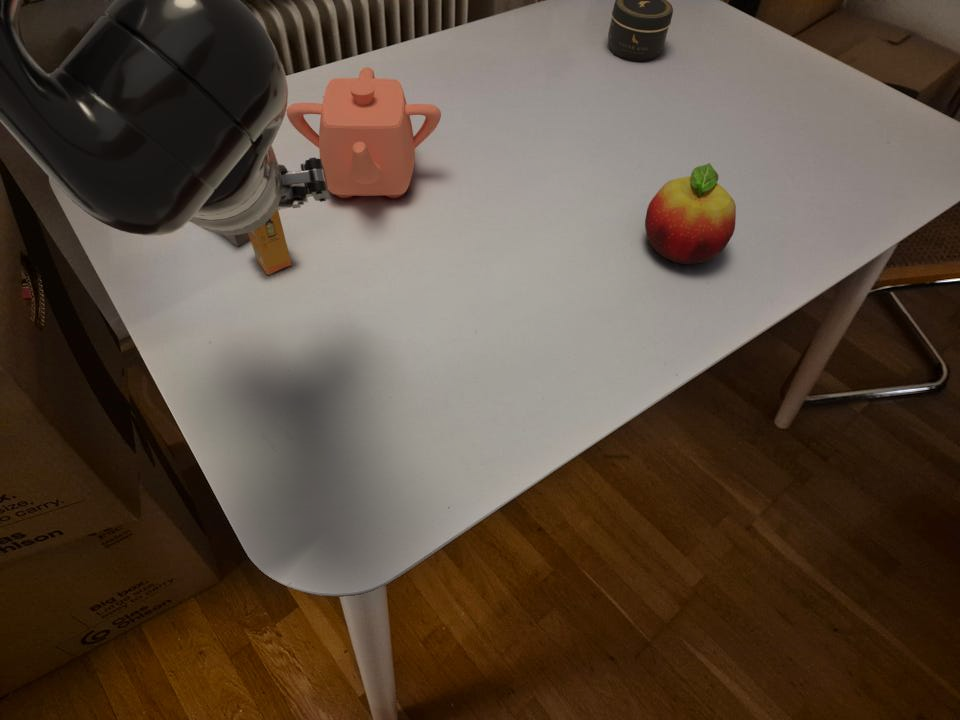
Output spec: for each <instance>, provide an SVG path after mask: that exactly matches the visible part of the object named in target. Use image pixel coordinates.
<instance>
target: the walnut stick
mask: <svg viewBox="0 0 960 720" xmlns="http://www.w3.org/2000/svg"><path fill="white" fill-rule="evenodd" d="M220 235H221V236H223V237H224V238H225V239H227V240H228V241H229V242H231V243H232V244H233V245H235V246H236V247H237V248H239V247H241V246H243V245H244V244H246V243H248V242H249V241H251V240H250V237H249V234H248V233H245V234H240V235H222V234H220Z"/></svg>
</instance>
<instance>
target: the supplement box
mask: <svg viewBox="0 0 960 720" xmlns="http://www.w3.org/2000/svg"><path fill="white" fill-rule="evenodd" d="M248 234H249V237H250V240H249V241H250V244H251V247H252V249H253V253H254V256H255V259H256V261H257V263H258V265H260V267H261V268H262V270H263V271H264V273H265V274H266V275H268V276H270V275H272V274H274V273H276V272H279V271H281V270H283V269H285V268H289V267H290V266H292V264H293V263H292V260H291V256H290V251H289V248H288V243H287V240H286V236H285V232H284V229H283V224H282V220H281V216H280V212H279V210H276V211H275V212H274V214H273V215H272V217H271V218H270V219H269V220H268V221H267V222H266V223H265V224H263V225H262V226H260V227H259V228H257V229H255V230H253V231H251V232H248Z"/></svg>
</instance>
